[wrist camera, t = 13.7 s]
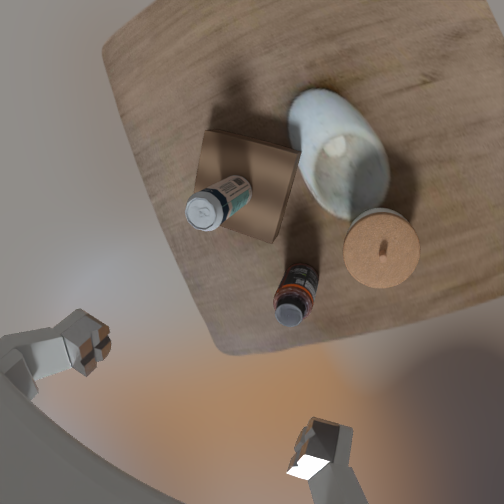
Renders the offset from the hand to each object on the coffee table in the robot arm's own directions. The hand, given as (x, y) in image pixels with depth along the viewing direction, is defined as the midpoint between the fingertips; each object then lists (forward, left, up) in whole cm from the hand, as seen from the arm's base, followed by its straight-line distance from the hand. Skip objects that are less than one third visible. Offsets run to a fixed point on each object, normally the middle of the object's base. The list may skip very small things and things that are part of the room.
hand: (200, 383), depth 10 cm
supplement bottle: (+17, +2, -39) cm, 43 cm away
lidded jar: (+5, +11, -39) cm, 41 cm away
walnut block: (+4, -11, -39) cm, 41 cm away
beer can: (+5, -11, -35) cm, 37 cm away
